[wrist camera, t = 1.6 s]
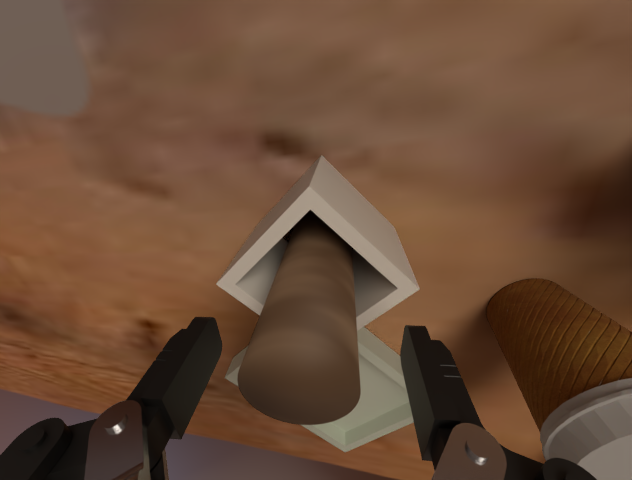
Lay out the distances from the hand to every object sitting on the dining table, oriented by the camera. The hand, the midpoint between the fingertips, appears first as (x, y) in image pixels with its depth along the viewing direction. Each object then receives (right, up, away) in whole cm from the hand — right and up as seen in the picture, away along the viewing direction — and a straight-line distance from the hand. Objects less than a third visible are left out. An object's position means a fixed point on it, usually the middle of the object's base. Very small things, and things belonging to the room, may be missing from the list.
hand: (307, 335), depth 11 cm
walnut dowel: (+1, +5, +11) cm, 12 cm away
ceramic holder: (+1, +5, +11) cm, 12 cm away
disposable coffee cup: (+19, -2, +13) cm, 23 cm away
